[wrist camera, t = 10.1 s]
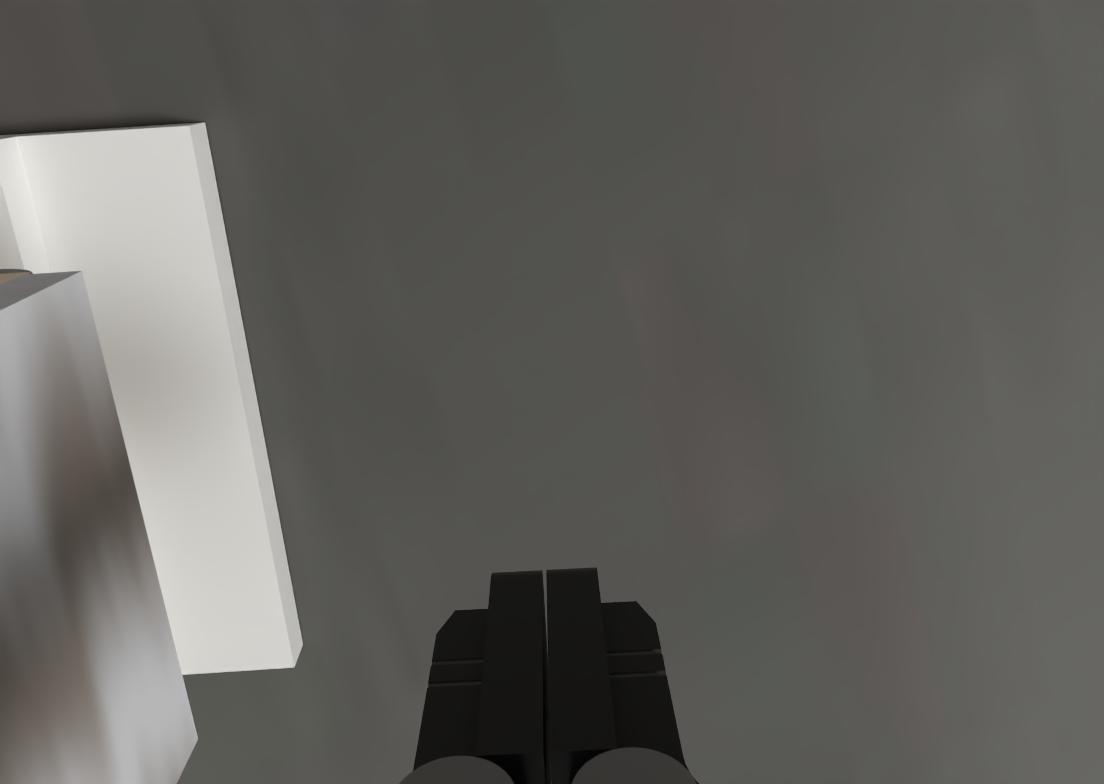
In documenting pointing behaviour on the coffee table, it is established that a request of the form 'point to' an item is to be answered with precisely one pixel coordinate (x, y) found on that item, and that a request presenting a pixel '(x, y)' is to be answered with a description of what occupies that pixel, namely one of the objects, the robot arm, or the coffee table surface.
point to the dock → (167, 369)
